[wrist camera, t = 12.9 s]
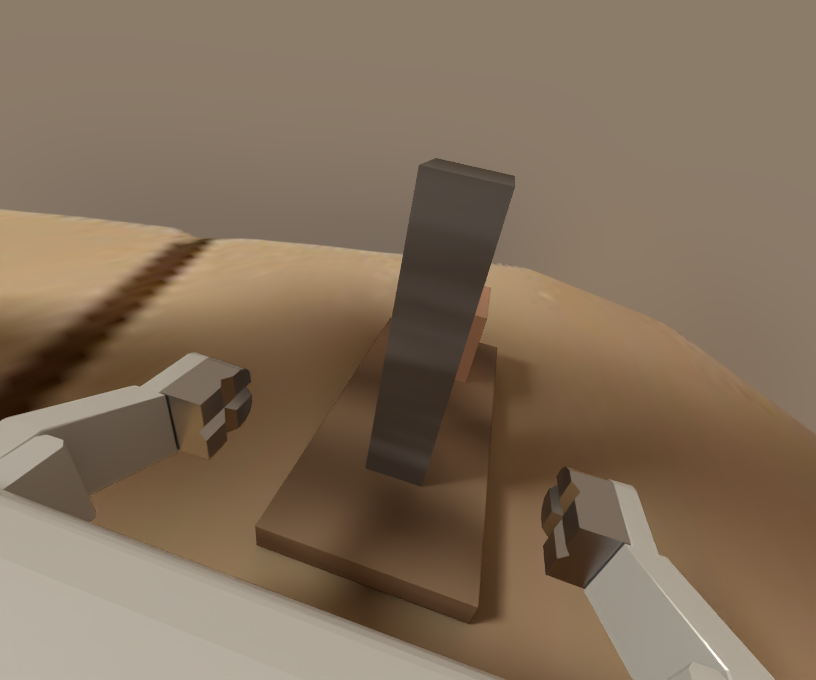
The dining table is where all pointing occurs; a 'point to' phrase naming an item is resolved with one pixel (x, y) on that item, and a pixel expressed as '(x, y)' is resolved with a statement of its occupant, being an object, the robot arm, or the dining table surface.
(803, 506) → the dining table surface
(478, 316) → the terracotta block
